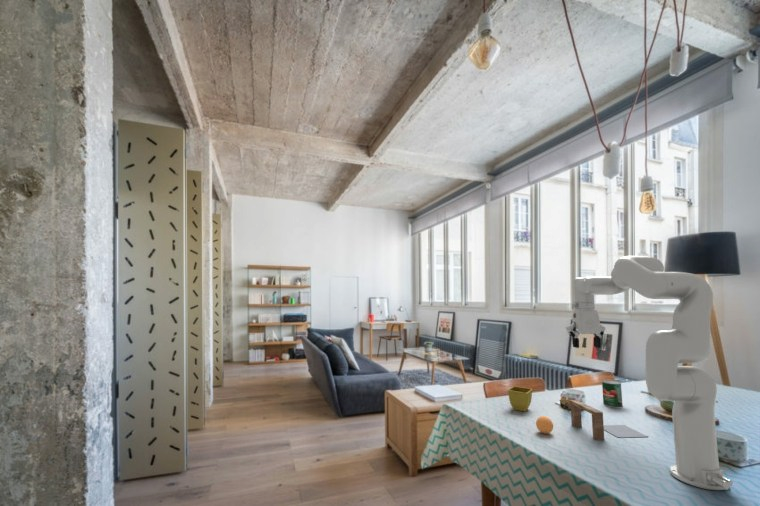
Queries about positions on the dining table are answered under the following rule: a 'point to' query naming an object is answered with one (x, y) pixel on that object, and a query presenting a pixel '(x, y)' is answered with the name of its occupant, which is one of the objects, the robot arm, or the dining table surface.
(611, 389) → the canned tomato
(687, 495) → the dining table surface
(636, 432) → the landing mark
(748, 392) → the dining table surface
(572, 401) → the bridge
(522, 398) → the flower pot
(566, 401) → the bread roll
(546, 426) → the ball
